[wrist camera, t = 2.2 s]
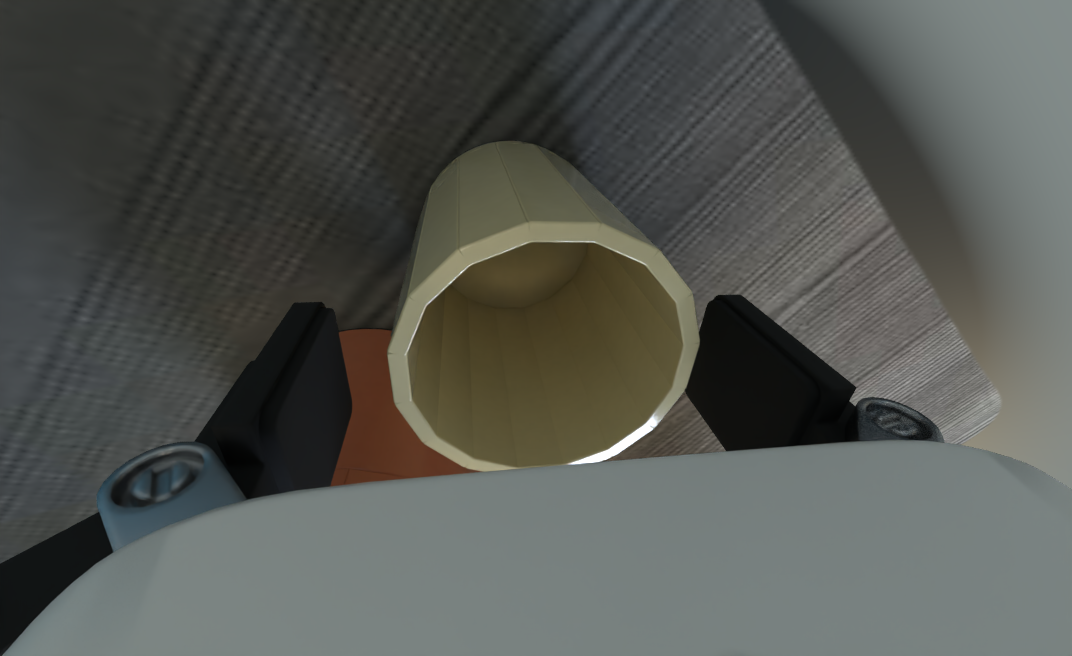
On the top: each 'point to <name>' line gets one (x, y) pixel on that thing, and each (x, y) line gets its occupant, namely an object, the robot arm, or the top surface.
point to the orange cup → (380, 421)
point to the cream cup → (534, 318)
